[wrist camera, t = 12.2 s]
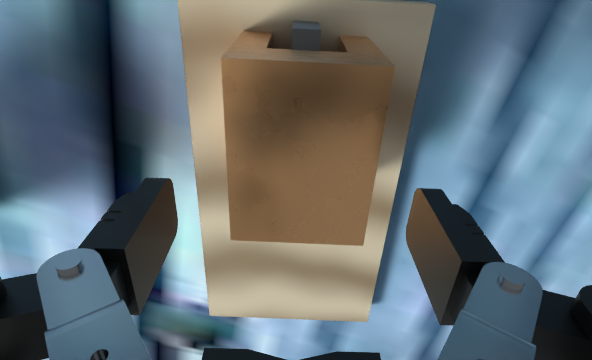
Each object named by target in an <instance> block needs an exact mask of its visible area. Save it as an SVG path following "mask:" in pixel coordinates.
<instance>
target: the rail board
mask: <svg viewBox="0 0 592 360" xmlns="http://www.w3.org/2000/svg"><path fill="white" fill-rule="evenodd" d="M435 8H436V5H435V4H432V3H429V2H421V1H403V0H178V9H179V19H180V29H181V39H182V48H183V58H184V68H185V78H186V88H187V97H188V107H189V117H190V127H191V137H192V146H193V156H194V166H195V176H196V186H197V195H198V205H199V215H200V225H201V234H202V244H203V254H204V264H205V274H206V283H207V293H208V303H209V313H210V316H232V317H257V318H283V319H308V320H334V321H359V322H367V321H368V317H369V312H370V308H371V303H372V298H373V294H374V289H375V285H376V280H377V275H378V271H379V266H380V261H381V257H382V252H383V248H384V243H385V238H386V234H387V229H388V225H389V220H390V215H391V211H392V206H393V201H394V197H395V192H396V188H397V183H398V178H399V174H400V169H401V165H402V160H403V155H404V151H405V146H406V141H407V137H408V132H409V128H410V123H411V118H412V114H413V109H414V105H415V100H416V95H417V91H418V86H419V81H420V77H421V72H422V68H423V63H424V58H425V54H426V49H427V45H428V40H429V35H430V31H431V26H432V21H433V17H434V12H435ZM243 30H248V31H267V32H273V46H272V49H291V50H311V51H331V52H337V49H338V39H339V35H345V36H364V37H368V38H369V39H370V40H371V41H372V42H373V43H374V44H375V45H376V46H377V47H378V48H379V49H380V50H381V52H382V53H383V54H384V55H385V56H386V57H387V58H388V59H389V60H390V61H391V62H392V63H393V65H394V66H395V71H394V77H393V82H392V88H391V94H390V99H389V105H388V110H387V116H386V121H385V127H384V133H383V138H382V144H381V149H380V155H379V160H378V166H377V172H376V177H375V183H374V188H373V194H372V200H371V205H370V211H369V216H368V222H367V227H366V233H365V239H364V244H363V246H354V245H330V244H306V243H282V242H258V241H235V240H231V239H230V220H229V201H228V183H227V164H226V145H225V127H224V108H223V89H222V71H221V57H222V56H223V55H224V53H225V52H226V51H227V50H228V48H229V47H230V46H231V45H232V44H233V42H234V41H235V40H236V39H237V38H238V36H239V35H240V34H241V33H242V32H243Z"/></svg>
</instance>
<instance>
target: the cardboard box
mask: <svg viewBox="0 0 592 360" xmlns="http://www.w3.org/2000/svg"><path fill="white" fill-rule="evenodd" d="M272 46H273V32H267V31H248V30H243V32H242V33H241V34H240V35H239V36H238V38H237V39H236V40H235V41H234V42H233V44H232V45H231V46H230V47H229V48H228V50H227V51H226V52H225V53H224V55H223V56H222V57H221V71H222V89H223V108H224V127H225V145H226V164H227V183H228V201H229V220H230V239H231V240H235V241H258V242H282V243H306V244H330V245H354V246H363V244H364V239H365V233H366V227H367V222H368V216H369V211H370V205H371V200H372V194H373V188H374V183H375V177H376V172H377V166H378V160H379V155H380V149H381V144H382V138H383V133H384V127H385V121H386V116H387V110H388V105H389V99H390V94H391V88H392V82H393V77H394V71H395V66H394V65H393V63H392V62H391V61H390V60H389V59H388V58H387V57H386V56H385V55H384V54H383V53H382V52H381V50H380V49H379V48H378V47H377V46H376V45H375V44H374V43H373V42H372V41H371V40H370V39H369V38H368V37H364V36H345V35H339V39H338V49H337V52H331V51H311V50H291V49H272Z"/></svg>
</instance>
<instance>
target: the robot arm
mask: <svg viewBox="0 0 592 360" xmlns="http://www.w3.org/2000/svg"><path fill="white" fill-rule="evenodd" d="M477 225H478V224H477V223H476V222H475V220H474V219H473V217H472V216H471V215H470V214H469V213H468V212H467V211H465V210H464V209H463V208H461V207H460V206H459V205H456V204H451V202H450V201H449V199H448V198H447V196H446V195H445V193H444V192H443V190H441V189H424V188H418V189H417V190H416V191H415V193H414V197H413V202H412V206H411V210H410V214H409V219H408V223H407V227H406V241H407V245H408V248H409V250H410V253H411V255H412V257H413V260H414V262H415V265H416V267H417V270H418V272H419V275H420V277H421V280H422V282H423V285H424V287H425V289H426V292H427V294H428V297H429V299H430V302H431V304H432V307H433V309H434V312H435V314H436V317H437V319H438V321H439V324H440V325H454V326H453V328H452V330H451V332H450V335H449V337H448V339H447V341H446V343H445V345H444V347H443V349H442V352H441V354H440V356H439V358H438V360H592V285H589V286H585V287H583V288H582V289H581V290H580V292H579V293H578V295H577V297H576V298H572V297H568V296H564V295H560V294H556V293H553V292H549V291H545V290H542V287H541V285H540V283H539V282H538V281H537V280H536V279H535V277H533V276H532V275H531V274H530V273H528V272H527V271H525V270H523V269H521V268H519V267H517V266H515V265H512V264H508V263H505V262H504V261H503V259H502V258H501V256H500V255H499V254H498V252H497V251H496V249H495V248H494V247H493V245H492V244H491V242H490V241H489V240H488V238H487V237H486V236H485V235H484V233H483V231H482V230H481V229H480V227H478V226H477ZM177 226H178V218H177V211H176V203H175V196H174V189H173V183H172V181H171V179H169V178H145V179H144V180H143V182H142V183H141V185H140V186H139V187H138V189H137V190H136V192H128V193H126V194H125V195H123V196H122V197H120V198H118V199H117V200H115V201H114V203H113V204H112V205H111V206H110V208H109V209H108V210H107V213H105V214H104V215H103V217H102V218H101V221H99V222H98V223H97V224H96V226H95V227H94V228H93V229H92V231H91V232H90V233H89V235H88V236H87V237H86V238H85V240H84V241H83V242H82V243H81V245H80V246H79V247H78V249H72V250H68V251H64V252H62V253H59V254H57V255H55V256H53V257H52V258H50V259H48V260H47V261H46V262H45V263H44V264H43V265H42V266H41V267H40V268H39V270H38V272H37V273H35V274H30V275H25V276H19V277H14V278H8V279H3V280H2V279H1V277H0V360H42V359H46V358H49V359H50V360H151V358H150V356H149V354H148V352H147V350H146V347H145V345H144V343H143V341H142V339H141V336H140V334H139V332H138V330H137V328H136V326H135V323H134V321H133V319H132V317H131V315H140V314H141V312H142V309H143V307H144V305H145V303H146V301H147V298H148V296H149V294H150V292H151V289H152V287H153V285H154V283H155V281H156V278H157V276H158V274H159V272H160V270H161V267H162V265H163V263H164V261H165V259H166V256H167V254H168V252H169V250H170V247H171V245H172V243H173V241H174V239H175V236H176V233H177ZM202 360H286V359H282V358H278V357H275V356H271V355H267V354H264V353H260V352H256V351H253V350H249V349H223V348H204V352H203V356H202ZM301 360H381V358H380V353H369V352H333V353H328V354H324V355H319V356H314V357H310V358H305V359H301Z"/></svg>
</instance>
